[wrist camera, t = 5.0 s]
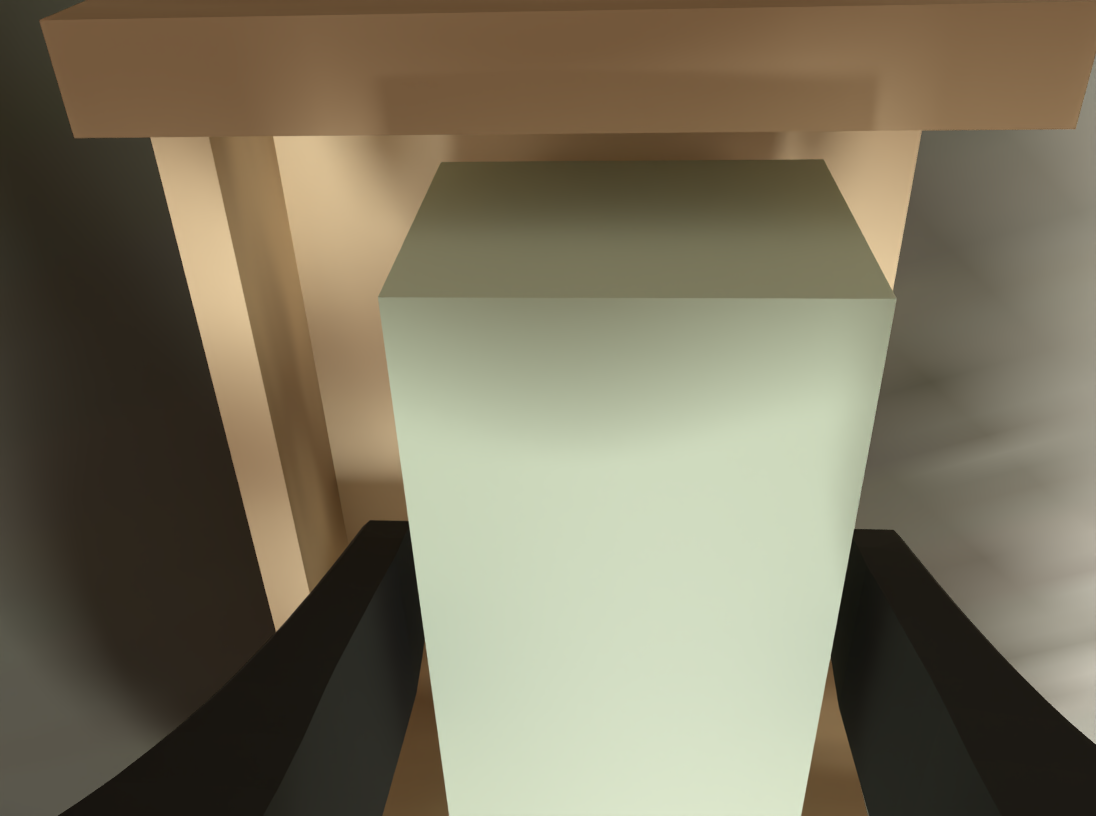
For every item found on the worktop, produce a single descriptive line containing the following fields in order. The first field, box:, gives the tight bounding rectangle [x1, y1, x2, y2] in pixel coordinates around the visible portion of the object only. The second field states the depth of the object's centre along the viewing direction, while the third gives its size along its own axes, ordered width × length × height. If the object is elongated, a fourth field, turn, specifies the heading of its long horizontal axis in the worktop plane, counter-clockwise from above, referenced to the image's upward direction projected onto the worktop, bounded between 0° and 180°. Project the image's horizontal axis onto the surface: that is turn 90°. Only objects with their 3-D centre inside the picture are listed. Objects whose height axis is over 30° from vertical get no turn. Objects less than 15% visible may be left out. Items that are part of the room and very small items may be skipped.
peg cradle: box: [39, 0, 1096, 816], centre depth 16 cm, size 15×11×6 cm
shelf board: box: [378, 159, 896, 816], centre depth 14 cm, size 10×5×4 cm, turn 2°
